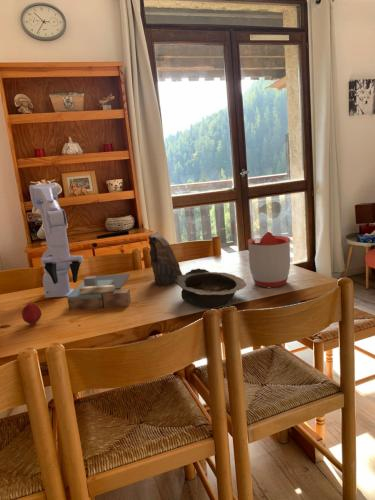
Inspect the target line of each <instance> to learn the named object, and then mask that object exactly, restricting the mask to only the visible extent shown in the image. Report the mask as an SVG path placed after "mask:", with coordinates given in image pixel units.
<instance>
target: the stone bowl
mask: <svg viewBox="0 0 375 500" xmlns="http://www.w3.org/2000/svg"><path fill="white" fill-rule="evenodd" d="M174 281H175V283H174V284H176V285H178V286H179V287H180V289H181V293H180V294H181V299H182V300H183V301H190V302H192V303H193V304H194V306H195V307H197V308H201V309H206V308H215V307H217V306H223V305H224V306H225V305H228V304H229V303H230V302H231V301H232V300H233V298H234V296H235V294H236V293H237V292H239V291H241V290H243V289H244V288H246V286H247V282H246V281H245V280H244V279H243V278H242V277H239V276H236V275H234V274H232V273H227V272H219V271H218V272H217V271H212V272H211V271H209V270H206V269H205V268H195V269H190V271H188V272H186V273H185V274H183V275H178V276H177V277H176V278H174Z"/></svg>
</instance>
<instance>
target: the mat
mask: <svg viewBox="0 0 375 500" xmlns="http://www.w3.org/2000/svg"><path fill="white" fill-rule="evenodd" d="M96 276H97V280H113V281H114V287H115V290H120V289H122V288H123V286H124V285H125V283H126V281H127V280H128V278H129V277H130V276H131V274H130V273H123V274H121V273H120V274H119V273H118V274H103V275H101V274H100V275H96Z"/></svg>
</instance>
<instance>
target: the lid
mask: <svg viewBox="0 0 375 500" xmlns="http://www.w3.org/2000/svg"><path fill="white" fill-rule="evenodd" d="M97 276H98V275H92V276H89V275H87V276H85V277H84V278H83V281H82V282H81V283H80V284H79V285H78V286H77V287H76V288H75V289H74V291H73V292H72V293H71V294H69V295H68V296H66V298H67V301H68V300H73V299H90V298H102V296H103V293H88V294H80V289H79V288H80V287H86V286H102V285H112V283H113V282H114V281H113V280H97Z"/></svg>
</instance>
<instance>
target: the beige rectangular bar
mask: <svg viewBox="0 0 375 500" xmlns="http://www.w3.org/2000/svg"><path fill="white" fill-rule="evenodd" d="M79 289H80V294H88V293H105V292H114V291H115V290H116V289H115V287H114V285H102V286H86V287H80V288H79Z"/></svg>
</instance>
